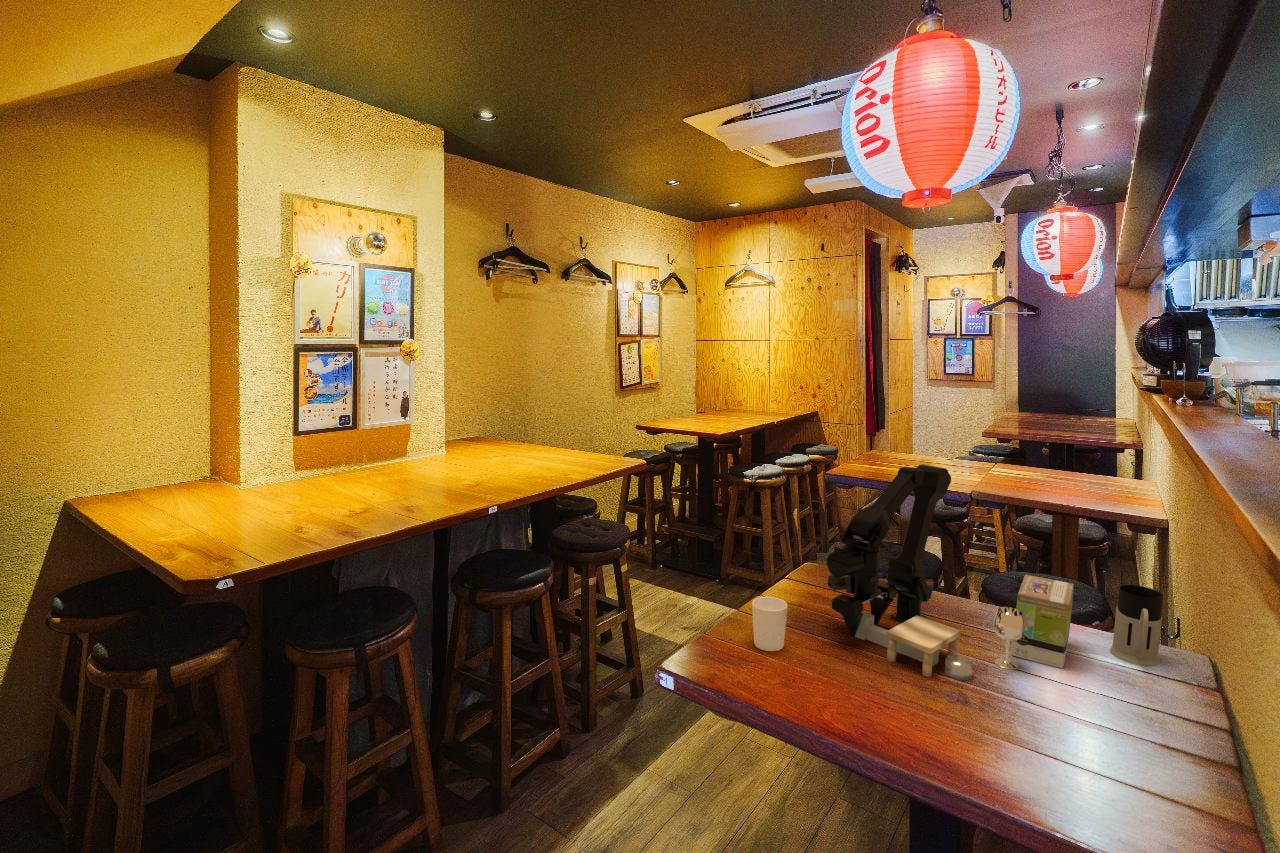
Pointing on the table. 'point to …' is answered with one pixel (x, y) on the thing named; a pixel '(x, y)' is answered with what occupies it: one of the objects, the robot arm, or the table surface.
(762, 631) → the white cup
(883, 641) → the gray hammer
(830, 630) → the table surface
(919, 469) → the robot arm
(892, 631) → the hinoki shelf
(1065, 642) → the tea box
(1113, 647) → the glass holder
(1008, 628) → the wineglass
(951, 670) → the steel puck
